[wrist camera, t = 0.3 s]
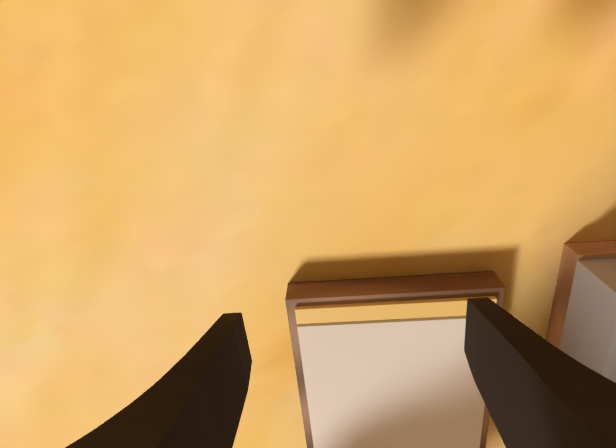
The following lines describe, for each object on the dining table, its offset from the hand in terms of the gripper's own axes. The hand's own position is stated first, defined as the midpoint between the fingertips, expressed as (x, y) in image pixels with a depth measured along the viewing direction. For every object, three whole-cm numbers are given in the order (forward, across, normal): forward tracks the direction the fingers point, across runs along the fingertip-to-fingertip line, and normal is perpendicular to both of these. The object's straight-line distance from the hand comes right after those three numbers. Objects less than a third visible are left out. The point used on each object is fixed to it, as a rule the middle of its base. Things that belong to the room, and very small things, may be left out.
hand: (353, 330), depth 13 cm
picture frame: (+10, -2, +11) cm, 15 cm away
